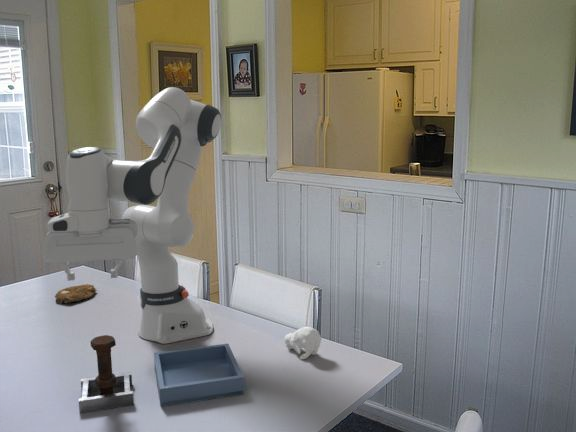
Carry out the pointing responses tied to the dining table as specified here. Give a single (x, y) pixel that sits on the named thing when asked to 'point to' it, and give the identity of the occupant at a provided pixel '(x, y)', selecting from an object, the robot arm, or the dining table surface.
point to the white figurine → (304, 341)
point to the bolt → (104, 363)
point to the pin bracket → (106, 400)
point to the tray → (197, 374)
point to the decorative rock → (75, 293)
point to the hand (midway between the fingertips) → (93, 278)
